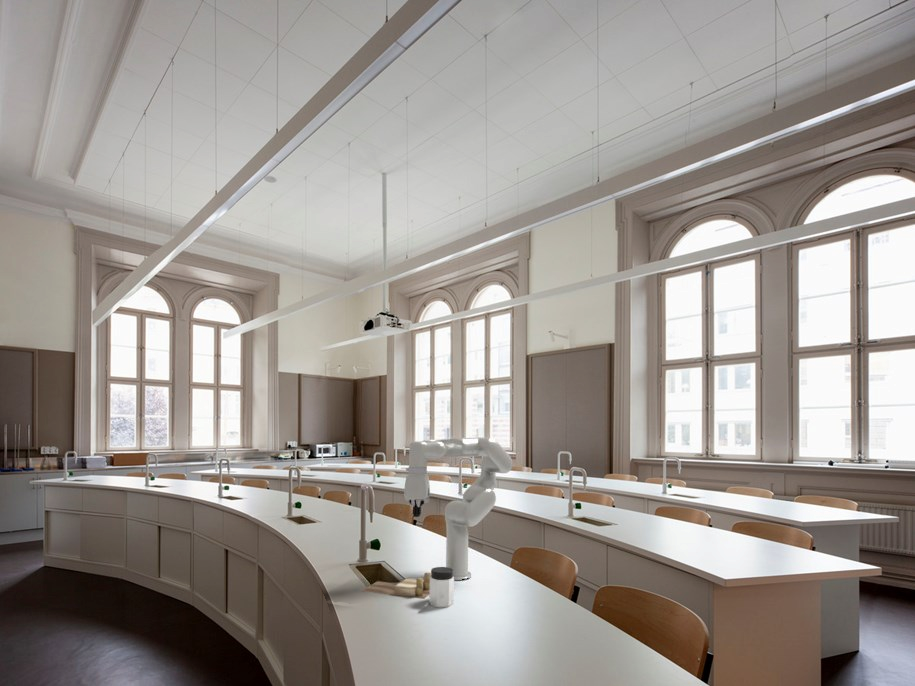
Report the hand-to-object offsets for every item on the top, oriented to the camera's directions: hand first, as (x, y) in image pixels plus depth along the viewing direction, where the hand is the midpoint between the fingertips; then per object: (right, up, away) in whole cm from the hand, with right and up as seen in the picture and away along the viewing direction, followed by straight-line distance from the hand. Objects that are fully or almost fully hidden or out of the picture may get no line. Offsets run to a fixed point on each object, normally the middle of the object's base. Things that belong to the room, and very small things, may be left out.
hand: (416, 516), depth 228 cm
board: (-6, -25, -13) cm, 29 cm away
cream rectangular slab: (-1, -24, -15) cm, 29 cm away
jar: (+11, -24, -26) cm, 37 cm away
